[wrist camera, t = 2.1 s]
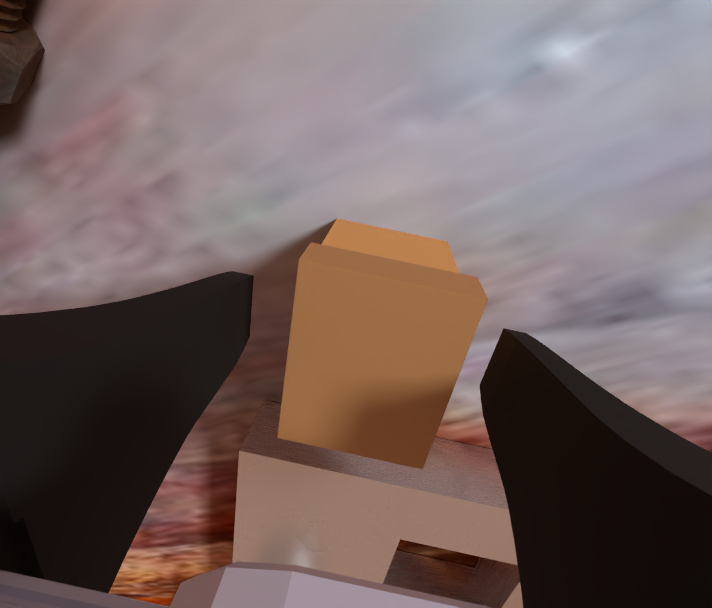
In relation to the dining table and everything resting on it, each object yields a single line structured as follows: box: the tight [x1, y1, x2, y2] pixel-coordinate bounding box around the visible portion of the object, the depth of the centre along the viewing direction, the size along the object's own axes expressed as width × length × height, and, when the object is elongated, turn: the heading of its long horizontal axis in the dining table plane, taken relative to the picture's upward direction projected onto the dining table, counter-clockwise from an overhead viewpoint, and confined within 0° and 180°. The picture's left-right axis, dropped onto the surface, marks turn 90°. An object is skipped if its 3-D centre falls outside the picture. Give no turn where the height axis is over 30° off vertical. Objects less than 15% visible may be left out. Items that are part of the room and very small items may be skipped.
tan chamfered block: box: [277, 219, 488, 469], centre depth 12 cm, size 4×5×6 cm
